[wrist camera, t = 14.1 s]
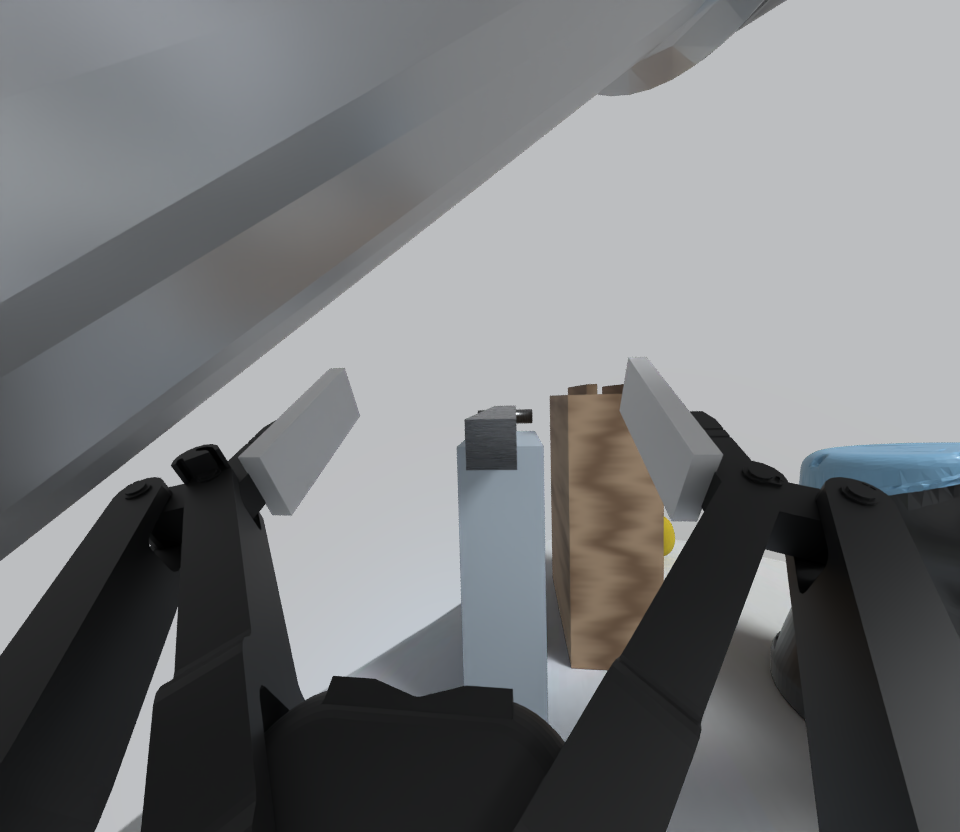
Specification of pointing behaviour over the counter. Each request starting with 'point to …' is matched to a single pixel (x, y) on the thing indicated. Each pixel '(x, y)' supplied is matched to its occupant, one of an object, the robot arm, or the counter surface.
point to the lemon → (668, 537)
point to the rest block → (505, 575)
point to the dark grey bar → (494, 438)
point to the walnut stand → (601, 526)
